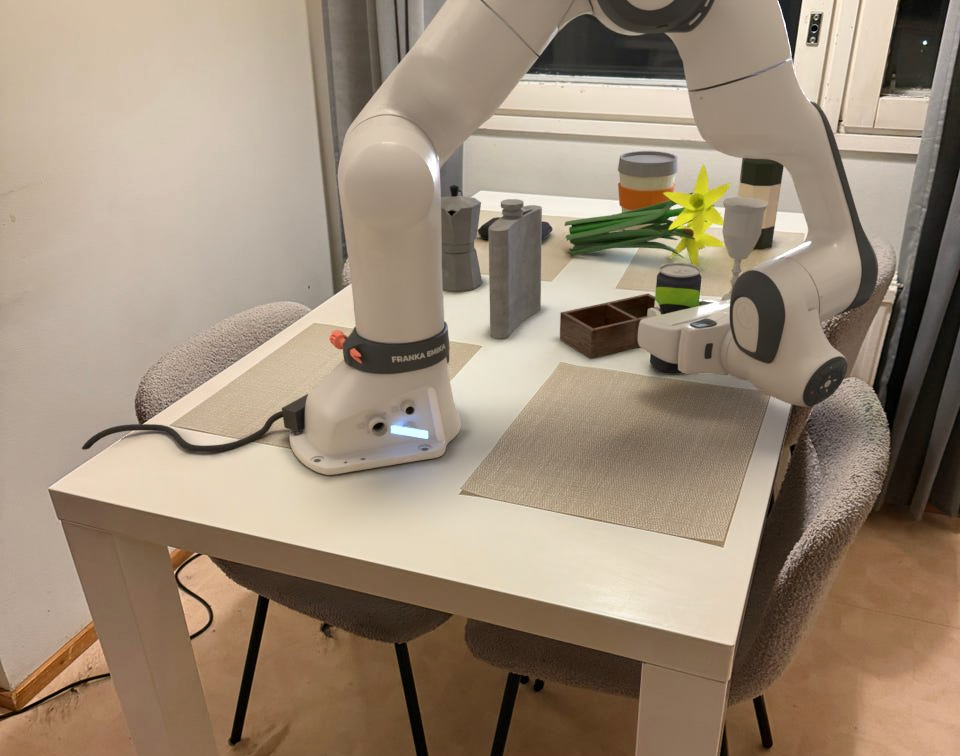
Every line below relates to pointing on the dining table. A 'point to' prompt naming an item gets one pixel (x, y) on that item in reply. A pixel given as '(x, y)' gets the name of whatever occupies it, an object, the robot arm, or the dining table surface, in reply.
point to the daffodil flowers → (655, 224)
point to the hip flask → (514, 266)
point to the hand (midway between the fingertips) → (672, 307)
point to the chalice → (741, 230)
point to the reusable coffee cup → (645, 179)
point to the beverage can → (675, 298)
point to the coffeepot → (459, 241)
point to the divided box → (605, 325)
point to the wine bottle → (762, 192)
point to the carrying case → (484, 228)
